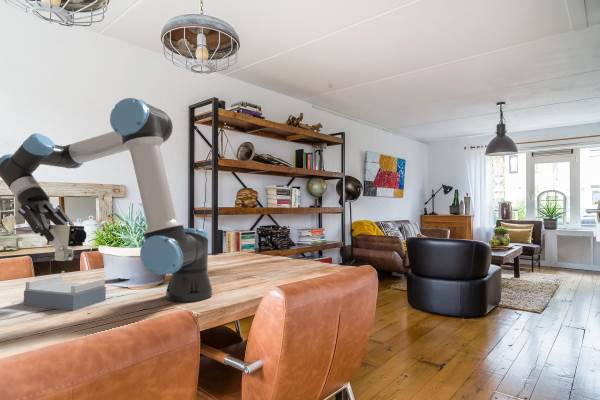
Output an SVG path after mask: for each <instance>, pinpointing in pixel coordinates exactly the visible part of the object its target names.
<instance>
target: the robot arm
mask: <svg viewBox="0 0 600 400" xmlns="http://www.w3.org/2000/svg"><path fill="white" fill-rule="evenodd" d="M109 124H110V126H111V128H112V131H109V132H106V133H103V134H100V135H97V136H96V135H95V136H92V137H90V138H86V139H84V140H80V141H76V142H74V143H70V144H67V145H59V144H55V143H54V141H53V140H51V139H50V138H49V137H48V136H46V135H44V134H42V133H38V132H37V133H31V134H30V135H29V136H28V137H27V139H26V140H24V141H22V144H21V145H20V146H19V147H18V148H17V150H16V151H14V153H12V154H11V153H9V154H4V155H2V156H1V157H0V178H1V179H2V181H3V182H4V183H5V184H6V186H7V187H8V188H9V190H10V191H11V193H12V194H13V195H14V197H15V199H16V200H17V201H18V203H19V204H20V208H18V210H17V212H18V213H19V214H20V215H21V216H22V217H23V219H24V220H25V222H27V224H28V226H29V227H30V229H31V230H32V231H33V233H34V234H37V235H38V234H39V236H40V237H45V239H46V241H47V240H48V241H50V242H51V244H52V245H51V246H53V248H54V249H55V250H56V251H59V250H60V249H62V243H61V242H60V240H59V239H58V237H57V236H56V234H55V233H54V231H53V230H52V229H50V230H49V224H48V221H47V220H49V221H51V222H52V223H53V225H65V222H69V225H70V226H75V225H74V223H73V222H72V221H71V219H70V218H69V216H68V215H67V214H66V212H64V209H63V206H62V205H60V204H58V205H57V206H54V205H53V204H52V203H51V202H49V201H50V200H49V196H48V194H47V193H46V192H45V190H44V189H43V188H42V186H41V185H40V183H39V182H38V181H37V180H36V178H35V177H34V175H33V173H34V172H35V171H36V170H37V169H38V168H39V167H40V165H42V166H49V167H50V166H51V167H57V168H65V169H79V168H81V166H82V165H83V164H84V163H88V162H90V161H96V160H98V159H102V158H105V157H108V156H112V155H116V154H120V153H122V152H126V151H129V152H130V155H131V161H132V165H133V169H134V173H135V174H134V175H135V177H136V178H135V179H136V181H137V187H138V191H139V194H140V199H141V200H140V201H141V204H142V208H143V213H144V216H145V223H146V226H147V227H146V229H145V231H144V232H143V238H144V242H143V243H142V246H141V247H140V253H139V255H140V260H141V262H142V264H143V266H144V268H145V269H147V270H148V271H149V272H151V273H152V274H154V275H155V274H156V275H158V276H159V275H162V276H163V275H170V274H171V276H170V278H169V281H168V284H167V288H166V291H165V298H166V300H168V301H172V302H180V303H181V302H182V303H183V302H196V301H197V302H198V301H203V300H206V299H209V298H211V297H212V296H213V287H212V283H211V280H210V277H209V273H208V266H209V265H208V264H209V263H208V259H209V257H208V255H209V234H208V231H207V230H205V229H203V228H191V227H189V228H188V227H187V228H185V226H184V224H183V223H181V222H180V221H178V219H177V216H176V211H175V207H174V203H173V198H172V195H171V190H170V185H169V181H168V177H167V173H166V167H165V163H164V160H163V156H162V151H161V146H162V145H163V144H164V143H165V142H166V141H168V140H169V139H170V137H171V136H172V135H173V127H174V126H173V121H172V120H171V117H170V116H169V115H168V114H167V112H165V111H163V110H161V108H160V109H159V108H158V107H155V106H153V105H151V104H149V103H147V102H145V101H144V100H142V99H137V98H133V97H127V98H123V99H121V100H119V101H118V102H116V104H114V107H113V108H112V109H111V111H110V116H109ZM76 247H77V246H73V247H72V248H71V249H72V250H74V249H76Z"/></svg>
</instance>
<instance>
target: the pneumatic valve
mask: <svg viewBox="0 0 600 400" xmlns="http://www.w3.org/2000/svg"><path fill="white" fill-rule="evenodd" d="M48 226H49V230H50V229H52V230H53V231H54V233H55V234H56V236H57V237H58V239H59V240H60V242H61V243H62V247H61V249H60V250H59V251H56V249H55V252H54V254H53V255H54V259H53V260H55V261H59V262H60V261H61V262H65V261H73V258H74V255H75V254H74V249H73V248H72V247H73V246H76V247H82V246H83V244H84V243H85V241H86V239H87V232H86V230H85V226H83V225H74V226H70V225H69V222H65V225H55V224H48ZM46 241H47V242H46V245H47V246H53V245H52V244H51V242H50V241H48V240H47V239H46ZM68 247H69V248H70V249H69V248H68Z"/></svg>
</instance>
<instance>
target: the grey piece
mask: <svg viewBox="0 0 600 400" xmlns="http://www.w3.org/2000/svg"><path fill="white" fill-rule="evenodd" d="M105 282H106V279H105V278H99V279H95V280H91V281H86V282H75V281H74V282H72V281H63V275H61V274H60V275H59V274H58V275H54V276H49V277H45V278H44V277H43V278H39V279H34V280H30V281H25V288H24V290H23V306H29V307H35V308H36V307H37V308H46V309H55V310H63V311H72V312H74V311H77V310H80V309H84V308H86V307H89V306H93V305H96V304H99V303H102V302H104V301H106V297H107V296H106V295H107V293H106V292H107V287H106V285H105V284H106V283H105Z"/></svg>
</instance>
